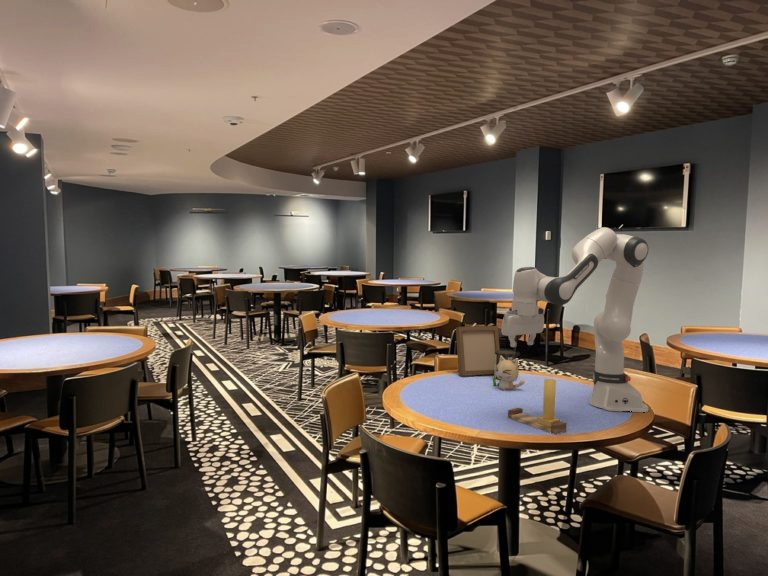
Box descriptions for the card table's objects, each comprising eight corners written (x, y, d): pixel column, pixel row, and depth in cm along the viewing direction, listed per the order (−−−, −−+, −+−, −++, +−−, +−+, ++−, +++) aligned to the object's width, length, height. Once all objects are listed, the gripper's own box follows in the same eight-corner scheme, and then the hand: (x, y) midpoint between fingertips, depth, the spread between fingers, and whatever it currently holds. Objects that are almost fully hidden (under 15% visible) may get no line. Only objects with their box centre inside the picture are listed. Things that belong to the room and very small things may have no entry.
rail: (507, 417, 207) (508, 410, 206) (518, 415, 210) (518, 407, 210) (555, 434, 189) (555, 426, 188) (566, 431, 192) (566, 423, 192)
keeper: (537, 422, 196) (538, 379, 195) (545, 420, 198) (547, 377, 197) (550, 427, 191) (552, 382, 190) (559, 424, 194) (561, 381, 192)
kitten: (486, 386, 253) (487, 355, 252) (500, 384, 259) (501, 353, 258) (511, 394, 241) (512, 361, 240) (525, 390, 247) (526, 358, 246)
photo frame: (501, 375, 277) (502, 327, 275) (462, 377, 271) (463, 328, 270) (489, 369, 291) (490, 323, 290) (451, 371, 286) (452, 324, 284)
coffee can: (518, 381, 265) (519, 353, 264) (500, 382, 262) (501, 354, 261) (508, 376, 274) (509, 349, 273) (490, 377, 272) (491, 350, 271)
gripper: (511, 312, 195) (509, 349, 196) (547, 309, 207) (545, 345, 208) (498, 309, 200) (496, 346, 201) (534, 307, 212) (532, 342, 213)
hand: (521, 345), depth 205 cm, fingers open, 8 cm apart
